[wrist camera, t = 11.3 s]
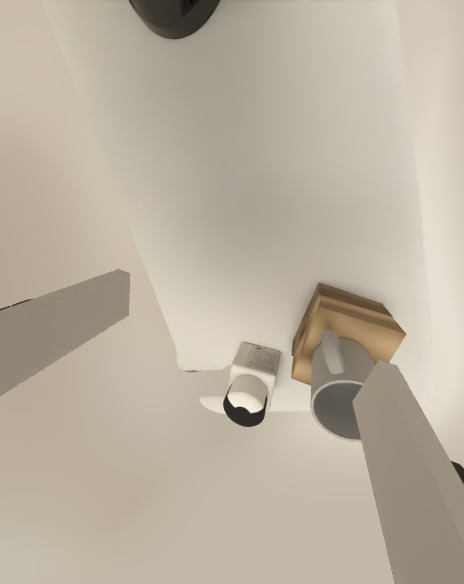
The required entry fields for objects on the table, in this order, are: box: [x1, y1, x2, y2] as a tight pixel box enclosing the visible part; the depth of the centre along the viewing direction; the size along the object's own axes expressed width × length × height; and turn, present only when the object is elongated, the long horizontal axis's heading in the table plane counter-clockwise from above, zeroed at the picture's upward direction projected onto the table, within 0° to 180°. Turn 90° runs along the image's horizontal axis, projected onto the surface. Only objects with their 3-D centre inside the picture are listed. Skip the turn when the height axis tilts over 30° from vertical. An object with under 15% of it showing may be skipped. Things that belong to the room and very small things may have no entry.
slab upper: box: [291, 294, 406, 386], centre depth 32 cm, size 12×10×5 cm
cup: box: [311, 329, 375, 442], centre depth 26 cm, size 7×10×9 cm
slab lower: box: [292, 283, 392, 356], centre depth 37 cm, size 12×10×5 cm
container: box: [223, 342, 280, 427], centre depth 40 cm, size 8×8×13 cm
